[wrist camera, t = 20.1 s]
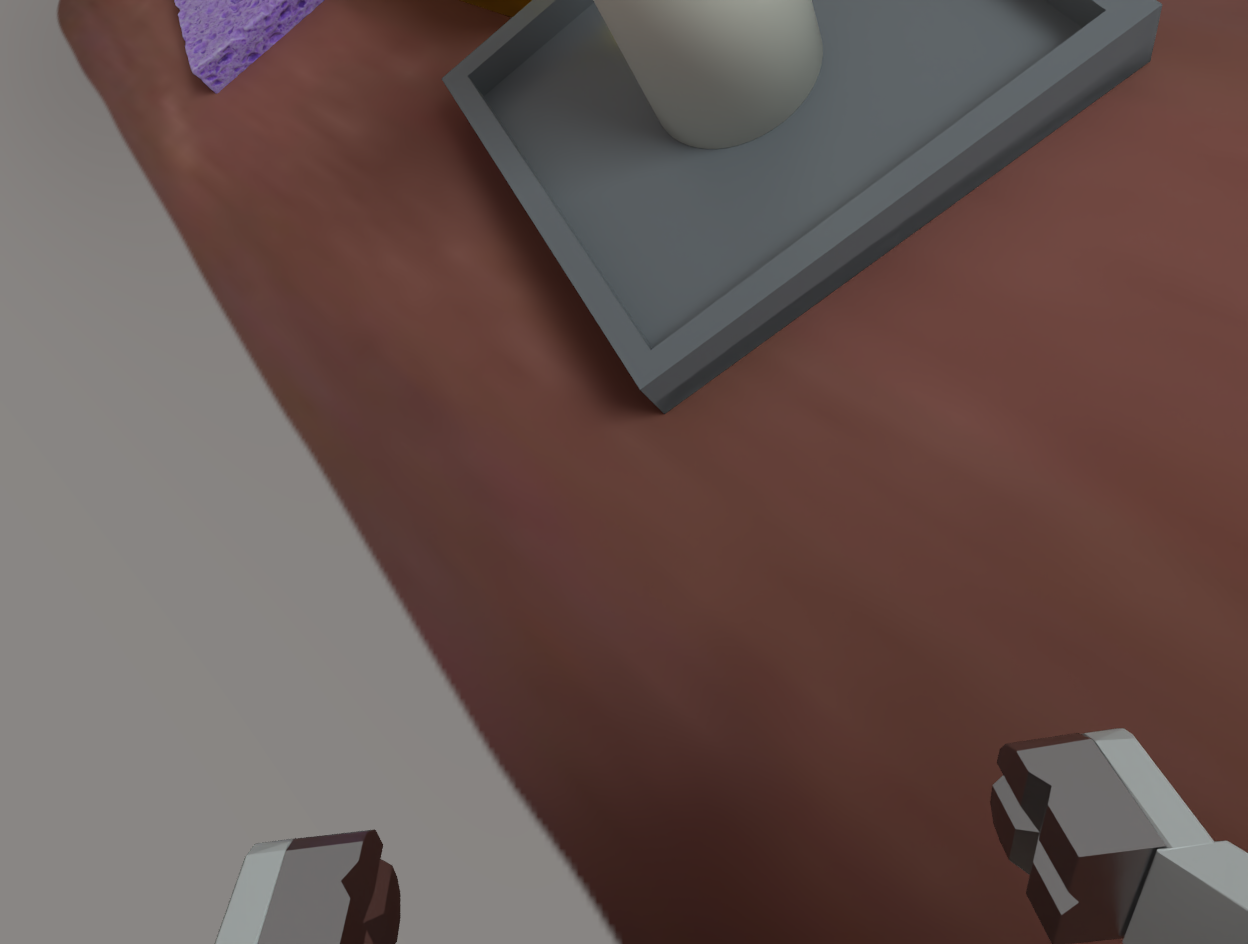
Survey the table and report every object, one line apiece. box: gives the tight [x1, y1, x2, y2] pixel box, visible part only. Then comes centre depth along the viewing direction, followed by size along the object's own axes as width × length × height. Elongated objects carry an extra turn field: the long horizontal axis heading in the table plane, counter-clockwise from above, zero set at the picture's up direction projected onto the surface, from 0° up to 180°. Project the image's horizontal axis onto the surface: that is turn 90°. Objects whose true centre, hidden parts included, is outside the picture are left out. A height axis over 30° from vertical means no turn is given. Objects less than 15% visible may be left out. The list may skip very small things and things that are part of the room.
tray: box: [442, 0, 1162, 414], centre depth 25 cm, size 15×15×2 cm
